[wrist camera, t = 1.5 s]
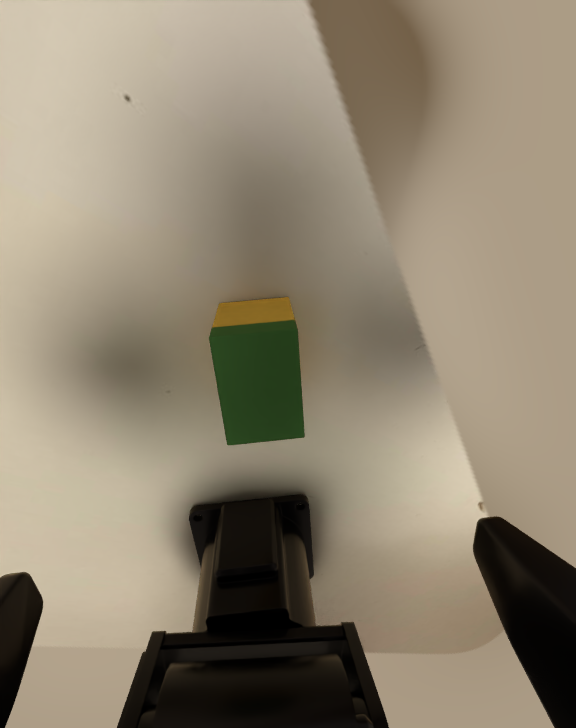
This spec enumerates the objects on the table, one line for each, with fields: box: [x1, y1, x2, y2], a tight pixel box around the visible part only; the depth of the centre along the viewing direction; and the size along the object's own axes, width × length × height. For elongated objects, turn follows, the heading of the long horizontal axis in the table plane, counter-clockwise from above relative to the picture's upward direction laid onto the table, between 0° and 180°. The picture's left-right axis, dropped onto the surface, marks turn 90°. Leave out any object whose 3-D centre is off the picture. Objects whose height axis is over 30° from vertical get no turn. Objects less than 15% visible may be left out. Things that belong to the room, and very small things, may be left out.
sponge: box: [209, 297, 305, 445], centre depth 16 cm, size 4×3×4 cm, turn 4°
